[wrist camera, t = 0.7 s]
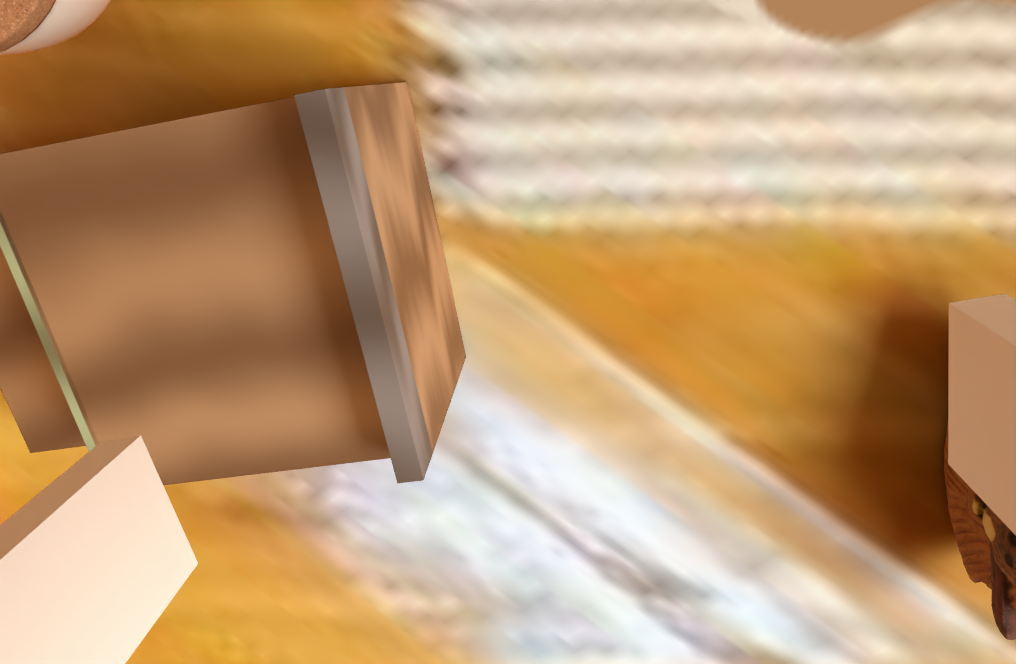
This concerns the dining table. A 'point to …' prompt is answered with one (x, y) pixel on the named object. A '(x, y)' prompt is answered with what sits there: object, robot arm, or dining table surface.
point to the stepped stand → (232, 289)
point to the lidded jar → (44, 22)
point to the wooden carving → (984, 547)
